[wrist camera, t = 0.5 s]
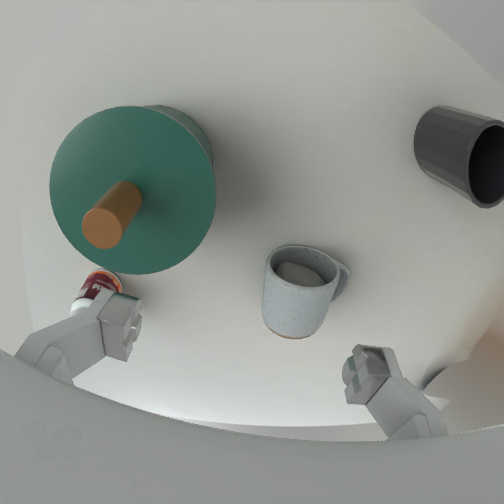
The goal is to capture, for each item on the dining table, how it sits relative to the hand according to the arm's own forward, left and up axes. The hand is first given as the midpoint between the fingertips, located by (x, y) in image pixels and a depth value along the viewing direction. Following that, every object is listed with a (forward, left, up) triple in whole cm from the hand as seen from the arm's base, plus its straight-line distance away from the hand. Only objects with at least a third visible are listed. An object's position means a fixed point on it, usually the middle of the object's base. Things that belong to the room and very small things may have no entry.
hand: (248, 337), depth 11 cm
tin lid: (-1, -8, -13) cm, 15 cm away
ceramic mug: (+12, +8, -22) cm, 26 cm away
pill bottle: (+13, -16, -22) cm, 30 cm away
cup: (-5, +24, -21) cm, 33 cm away
